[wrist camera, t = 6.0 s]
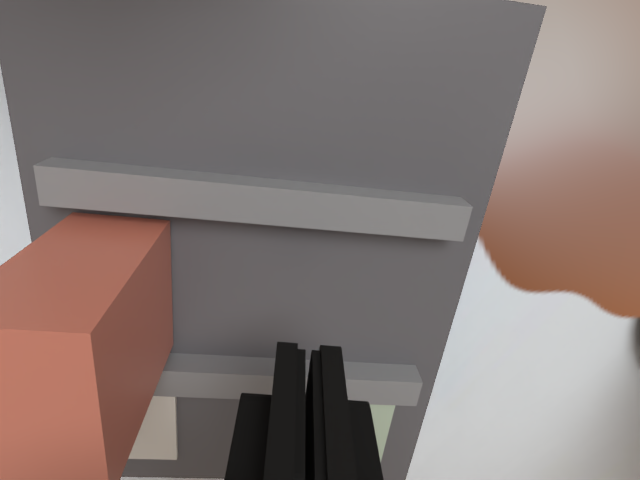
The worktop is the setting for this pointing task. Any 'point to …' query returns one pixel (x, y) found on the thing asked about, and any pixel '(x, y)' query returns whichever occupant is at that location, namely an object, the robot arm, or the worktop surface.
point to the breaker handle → (82, 345)
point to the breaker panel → (276, 182)
